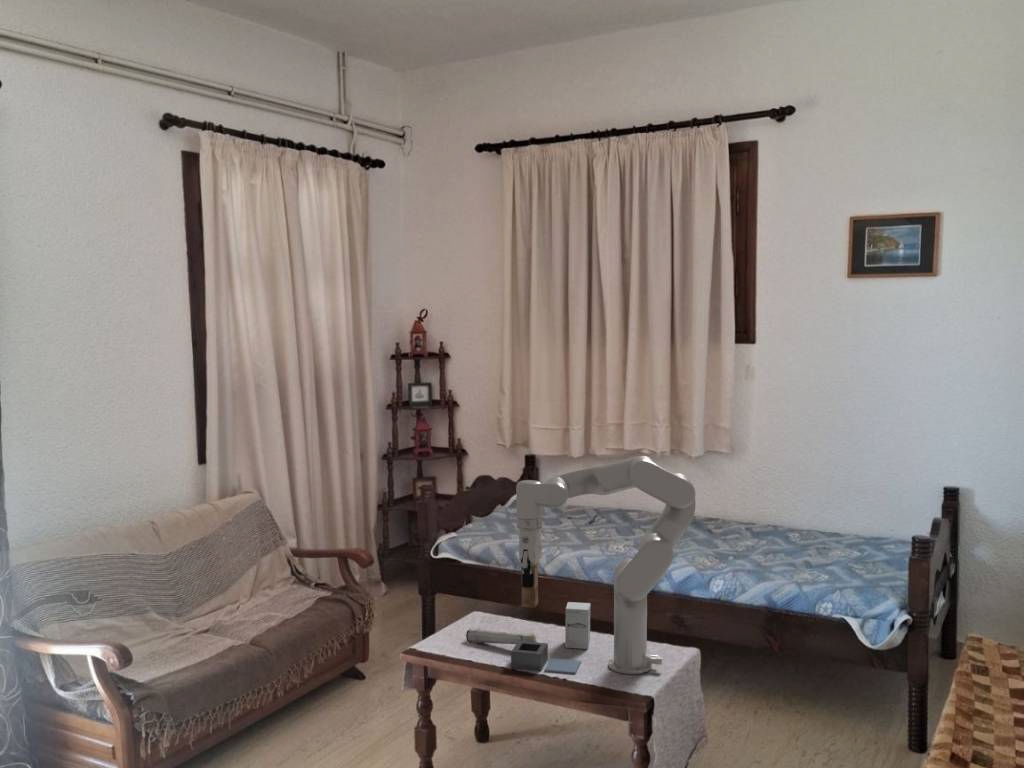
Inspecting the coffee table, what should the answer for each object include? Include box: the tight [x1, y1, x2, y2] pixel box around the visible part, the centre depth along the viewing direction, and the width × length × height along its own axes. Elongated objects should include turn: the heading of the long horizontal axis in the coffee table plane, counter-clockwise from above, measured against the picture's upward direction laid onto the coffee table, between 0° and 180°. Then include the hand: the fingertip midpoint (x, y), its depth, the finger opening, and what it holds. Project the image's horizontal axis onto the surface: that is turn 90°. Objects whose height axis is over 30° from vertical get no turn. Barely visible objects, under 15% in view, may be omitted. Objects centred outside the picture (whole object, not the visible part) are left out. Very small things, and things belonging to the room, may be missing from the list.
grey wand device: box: [465, 628, 540, 645], centre depth 271 cm, size 5×7×25 cm
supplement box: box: [564, 601, 592, 650], centre depth 273 cm, size 7×7×13 cm
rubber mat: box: [544, 657, 582, 675], centre depth 255 cm, size 9×9×1 cm
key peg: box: [520, 561, 539, 609], centre depth 256 cm, size 5×5×13 cm
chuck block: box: [510, 641, 549, 672], centre depth 258 cm, size 9×9×5 cm
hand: (529, 584), depth 256 cm, fingers closed on key peg, 4 cm apart
